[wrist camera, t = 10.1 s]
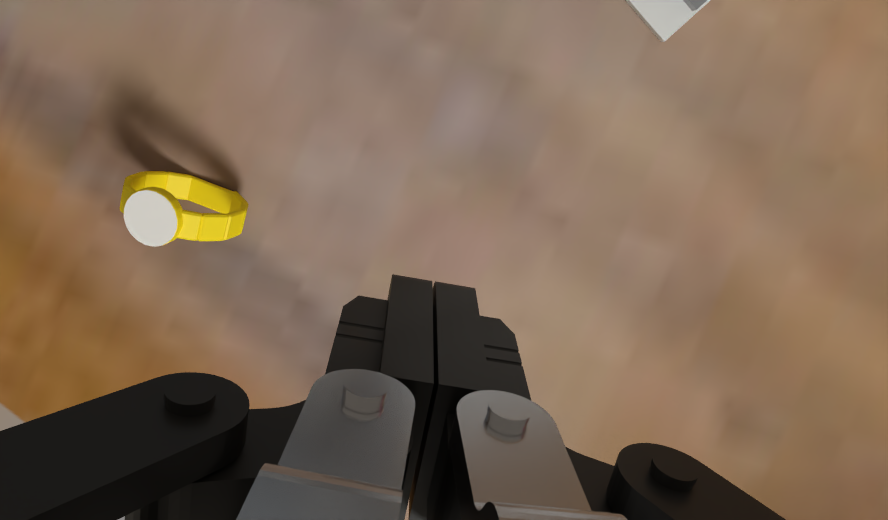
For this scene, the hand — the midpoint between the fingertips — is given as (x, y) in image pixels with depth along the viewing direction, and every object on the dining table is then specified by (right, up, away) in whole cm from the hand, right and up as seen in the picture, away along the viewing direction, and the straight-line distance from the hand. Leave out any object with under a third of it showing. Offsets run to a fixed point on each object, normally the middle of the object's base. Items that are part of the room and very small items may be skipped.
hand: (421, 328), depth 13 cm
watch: (-12, +5, +26) cm, 29 cm away
